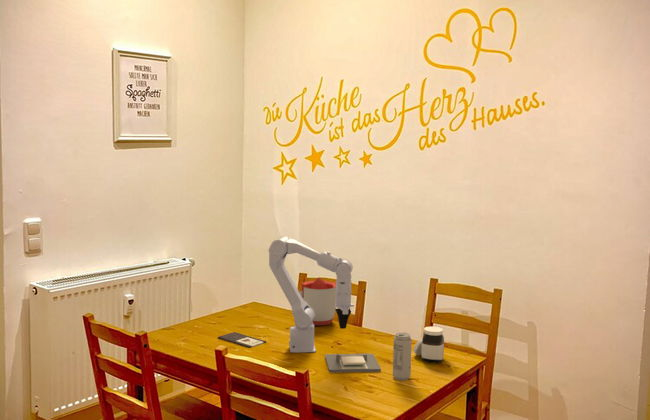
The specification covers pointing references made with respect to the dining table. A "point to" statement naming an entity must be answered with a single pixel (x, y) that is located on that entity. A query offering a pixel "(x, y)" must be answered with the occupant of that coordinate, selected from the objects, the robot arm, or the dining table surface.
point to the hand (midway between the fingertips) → (342, 328)
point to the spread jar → (431, 345)
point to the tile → (353, 360)
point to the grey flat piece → (337, 365)
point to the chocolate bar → (241, 339)
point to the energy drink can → (402, 356)
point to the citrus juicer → (320, 299)
